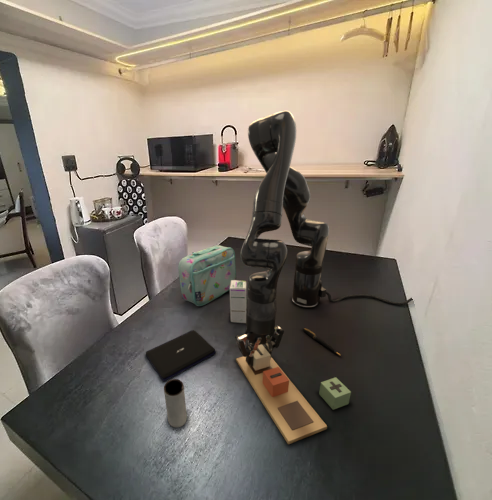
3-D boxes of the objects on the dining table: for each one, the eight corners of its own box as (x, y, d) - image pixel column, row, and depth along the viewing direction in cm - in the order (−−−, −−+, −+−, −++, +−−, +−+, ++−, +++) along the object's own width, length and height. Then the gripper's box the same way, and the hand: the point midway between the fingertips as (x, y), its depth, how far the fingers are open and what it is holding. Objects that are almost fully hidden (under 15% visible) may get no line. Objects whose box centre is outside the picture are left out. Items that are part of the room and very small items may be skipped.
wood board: (265, 352, 81) (265, 349, 80) (326, 429, 58) (327, 425, 58) (235, 360, 78) (235, 357, 78) (288, 444, 56) (288, 441, 56)
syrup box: (246, 323, 94) (247, 288, 89) (229, 322, 95) (229, 287, 90) (246, 314, 99) (247, 280, 94) (230, 313, 101) (230, 279, 95)
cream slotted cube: (261, 354, 77) (262, 343, 76) (270, 366, 73) (270, 354, 72) (247, 358, 76) (247, 347, 75) (255, 370, 72) (255, 358, 71)
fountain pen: (342, 357, 77) (343, 353, 77) (340, 358, 77) (340, 354, 76) (303, 329, 89) (304, 325, 89) (301, 330, 89) (301, 327, 88)
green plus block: (333, 388, 68) (336, 376, 66) (348, 404, 64) (351, 391, 62) (318, 393, 67) (320, 381, 65) (332, 410, 62) (335, 397, 61)
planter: (167, 410, 65) (163, 379, 61) (186, 408, 65) (183, 377, 61) (168, 429, 61) (163, 397, 57) (187, 426, 61) (184, 394, 57)
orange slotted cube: (277, 377, 71) (278, 366, 69) (288, 391, 67) (289, 379, 65) (262, 382, 70) (263, 370, 68) (272, 397, 65) (273, 384, 64)
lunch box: (194, 313, 102) (191, 263, 94) (178, 303, 109) (173, 256, 101) (238, 287, 118) (238, 243, 110) (221, 280, 125) (220, 238, 117)
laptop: (143, 348, 86) (142, 343, 85) (198, 330, 93) (198, 325, 92) (157, 385, 72) (156, 380, 71) (220, 360, 79) (220, 355, 78)
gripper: (242, 326, 63) (241, 379, 70) (293, 313, 67) (288, 364, 73) (229, 309, 70) (230, 359, 76) (276, 298, 74) (273, 346, 80)
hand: (258, 361), depth 75 cm, fingers closed on cream slotted cube, 4 cm apart
